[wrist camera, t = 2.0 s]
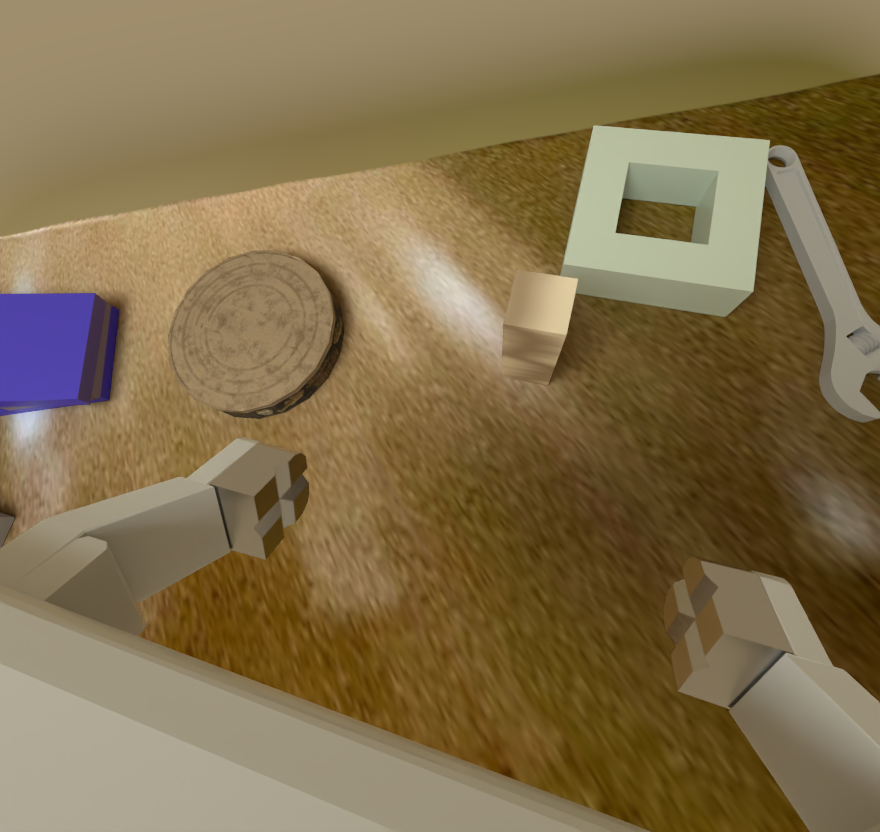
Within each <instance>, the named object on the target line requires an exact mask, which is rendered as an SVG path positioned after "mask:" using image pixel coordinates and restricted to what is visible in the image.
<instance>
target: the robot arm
mask: <svg viewBox="0 0 880 832" xmlns="http://www.w3.org/2000/svg"><path fill="white" fill-rule="evenodd" d="M306 469H307V463H306V456H304V455H303V454H302V453H299V452H296V451H292V450H289V449H285V448H282V447H279V446H275V445H272V444H268V443H265V442H259V441H256V440H253V439H249V438H246V437H242V438H237V439H236V440H234V441H233V442H232V443H231V444H229V445H228V446H227V447H225V448H224V449H223V450H222V451H220V452H219V453H218V454H217V455H215V456H214V457H213V458H212V459H210V460H209V461H208V462H206V463H205V464H204V465H203V466H201V467H200V468H199V469H198V470H196V471H195V472H194V473H193V474H191V475H190V476H189V477H187V478H183V477H178V478H174V479H171V480H168V481H165V482H161V483H158V484H155V485H152V486H149V487H145V488H142V489H139V490H136V491H132V492H129V493H126V494H123V495H120V496H116V497H113V498H110V499H107V500H103V501H100V502H97V503H94V504H91V505H87V506H84V507H81V508H78V509H74V510H71V511H68V512H65V513H62V514H58V515H55V516H52V517H49V518H45V519H44V520H42V521H41V522H39V523H38V524H36V525H35V526H33V527H31V528H30V529H28V530H27V531H25V532H24V533H22V534H21V535H19V536H18V537H16V538H15V539H13V540H12V541H10V542H9V543H7V544H6V545H4V546H3V547H1V548H0V832H651V831H648V830H646V829H643V828H640V827H638V826H635V825H633V824H630V823H627V822H625V821H622V820H619V819H617V818H614V817H612V816H609V815H606V814H604V813H601V812H598V811H596V810H593V809H591V808H588V807H585V806H583V805H580V804H577V803H575V802H572V801H570V800H567V799H564V798H562V797H559V796H556V795H554V794H551V793H549V792H546V791H543V790H541V789H538V788H535V787H533V786H530V785H527V784H525V783H522V782H520V781H517V780H514V779H512V778H509V777H506V776H504V775H501V774H499V773H496V772H493V771H491V770H488V769H485V768H483V767H480V766H478V765H475V764H472V763H470V762H467V761H464V760H462V759H459V758H457V757H454V756H451V755H449V754H446V753H443V752H441V751H438V750H436V749H433V748H430V747H428V746H425V745H422V744H420V743H417V742H415V741H412V740H409V739H407V738H404V737H401V736H399V735H396V734H394V733H391V732H388V731H386V730H383V729H380V728H378V727H375V726H372V725H370V724H367V723H365V722H362V721H359V720H357V719H354V718H351V717H349V716H346V715H344V714H341V713H338V712H336V711H333V710H330V709H328V708H325V707H323V706H320V705H317V704H315V703H312V702H309V701H307V700H304V699H302V698H299V697H296V696H294V695H291V694H288V693H286V692H283V691H280V690H278V689H275V688H273V687H270V686H267V685H265V684H262V683H259V682H257V681H254V680H252V679H249V678H246V677H244V676H241V675H238V674H236V673H233V672H230V671H228V670H225V669H223V668H220V667H217V666H215V665H212V664H209V663H207V662H204V661H202V660H199V659H196V658H194V657H191V656H188V655H186V654H183V653H180V652H178V651H175V650H173V649H170V648H167V647H165V646H162V645H159V644H157V643H154V642H152V641H149V640H146V639H144V638H141V637H138V635H139V634H140V633H141V632H142V631H143V630H144V629H145V620H144V618H143V616H142V614H141V612H140V610H139V608H138V606H137V604H138V603H139V602H141V601H143V600H145V599H147V598H148V597H150V596H152V595H154V594H156V593H157V592H159V591H161V590H163V589H165V588H166V587H168V586H170V585H172V584H174V583H175V582H177V581H179V580H181V579H183V578H184V577H186V576H188V575H190V574H192V573H193V572H195V571H197V570H199V569H201V568H202V567H204V566H206V565H208V564H210V563H211V562H213V561H215V560H217V559H219V558H220V557H222V556H224V555H226V554H228V553H229V552H230V550H234V551H237V552H241V553H244V554H248V555H251V556H255V557H258V558H262V559H265V560H266V559H267V558H268V557H269V555H270V554H271V553H272V551H273V550H274V549H275V548H276V546H277V545H278V544H279V543H280V541H281V540H282V539H283V538H284V527H286V526H289V525H291V524H293V523H295V522H296V521H297V520H298V519H299V517H300V516H301V515H302V513H303V511H304V509H305V507H306V504H307V502H308V497H309V483H308V482H307V480H306V479H305V477H304V476H303V475H302V473H303V472H304V471H305V470H306ZM682 572H683V575H684V579H683V580H680V581H678V582H675V583H673V584H672V586H671V587H670V589H669V591H668V593H667V595H666V599H665V604H664V623H665V629H666V633H667V634H668V635H669V637H670V638H671V639H672V640H673V642H674V643H675V644H676V645H677V646H676V647H675V649H674V650H673V652H672V653H671V660H672V665H673V670H674V675H675V680H676V685H677V690H678V691H679V692H682V693H684V694H687V695H690V696H693V697H696V698H699V699H702V700H705V701H707V702H710V703H713V704H716V705H719V706H722V707H725V708H728V709H730V710H729V713H730V714H731V716H732V717H733V719H734V720H735V722H736V723H737V725H738V726H739V727H740V729H741V730H742V732H743V733H744V735H745V736H746V738H747V739H748V741H749V742H750V744H751V745H752V747H753V748H754V750H755V751H756V753H757V754H758V756H759V757H760V759H761V760H762V761H763V763H764V764H765V766H766V767H767V769H768V770H769V772H770V773H771V775H772V776H773V778H774V779H775V781H776V782H777V784H778V785H779V787H780V788H781V790H782V791H783V793H784V794H785V795H786V797H787V798H788V800H789V801H790V803H791V804H792V806H793V807H794V809H795V810H796V812H797V813H798V815H799V816H800V818H801V819H802V821H803V822H804V824H805V825H806V827H807V828H808V829H809V831H810V832H880V702H878V701H877V700H876V699H875V698H874V697H873V696H872V695H871V694H870V693H869V692H868V691H867V690H865V689H864V688H863V687H862V686H861V685H860V684H859V683H858V682H857V681H856V680H855V679H853V678H852V677H851V676H850V675H849V674H848V673H847V672H846V671H845V670H843V669H840V668H837V667H833V665H832V663H831V661H830V659H829V657H828V655H827V654H826V652H825V650H824V648H823V646H822V644H821V642H820V640H819V638H818V636H817V634H816V632H815V631H814V629H813V627H812V625H811V623H810V621H809V619H808V617H807V615H806V613H805V611H804V609H803V608H802V606H801V604H800V602H799V600H798V598H797V596H796V594H795V592H794V590H793V588H792V586H791V585H790V584H789V583H788V582H787V581H786V580H785V579H784V578H780V577H776V576H772V575H768V574H764V573H760V572H756V571H749V570H747V569H743V568H739V567H735V566H731V565H727V564H723V563H719V562H715V561H711V560H708V559H704V558H700V557H696V556H692V557H691V558H689V559H688V560H687V561H686V563H685V564H684V566H683V567H682Z"/></svg>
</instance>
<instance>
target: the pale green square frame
mask: <svg viewBox="0 0 880 832" xmlns="http://www.w3.org/2000/svg"><path fill="white" fill-rule="evenodd" d="M769 143H770V140H761V139H749V138H737V137H725V136H714V135H702V134H690V133H678V132H666V131H654V130H642V129H630V128H619V127H607V126H593V131H592V135H591V139H590V143H589V147H588V151H587V155H586V159H585V163H584V168H583V173H582V177H581V182H580V186H579V191H578V195H577V200H576V204H575V209H574V213H573V218H572V223H571V227H570V232H569V236H568V241H567V245H566V250H565V254H564V259H563V263H562V268H561V273H560V276H563V277H569V278H576V279H578V283H577V288H576V292H575V293H576V294H582V295H589V296H595V297H601V298H608V299H614V300H620V301H627V302H633V303H639V304H646V305H652V306H658V307H665V308H671V309H677V310H684V311H690V312H696V313H703V314H709V315H715V316H722V317H726V316H727V315H728V314H729V313H730V312H731V311H733V310H734V309H735V308H736V307H737V306H738V305H739V304H740V303H741V302H742V301H744V300H745V299H746V298H747V297H748V296H749V295H750V294H751V293H752V292H753V290H754V280H755V271H756V262H757V253H758V244H759V235H760V226H761V216H762V207H763V198H764V189H765V180H766V171H767V162H768V152H769ZM622 198H625V199H634V200H643V201H651V202H660V203H669V204H678V205H686V206H695V207H696V211H695V218H694V225H693V231H692V238H691V243H690V242H682V241H674V240H666V239H659V238H651V237H643V236H635V235H628V234H620V233H615V232H616V227H617V222H618V216H619V211H620V206H621V201H622Z"/></svg>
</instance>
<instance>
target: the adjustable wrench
mask: <svg viewBox="0 0 880 832" xmlns="http://www.w3.org/2000/svg"><path fill="white" fill-rule="evenodd" d="M770 158H777V159H780V160H782V161H783V162H784V164H785V166H786V167H782V168H781V167H776V166H774V165H772V164H771V163H770V162H769V161H768V162H767V171H766V180H765V185H766V188H767V190H768V192H769V195H770V197H771V199H772V202H773V204H774V206H775V209H776V211H777V213H778V216H779V218H780V220H781V223H782V225H783V227H784V230H785V232H786V234H787V237H788V239H789V241H790V244H791V246H792V248H793V251H794V253H795V255H796V258H797V260H798V262H799V265H800V267H801V269H802V272H803V274H804V276H805V279H806V281H807V283H808V286H809V288H810V291H811V293H812V295H813V298H814V300H815V302H816V305H817V307H818V309H819V312H820V314H821V316H822V320H823V323H824V330H825V342H824V354H823V360H822V365H821V370H820V375H819V384H820V389H821V392H822V394H823V396H824V398H825V399H826V400H827V402H828V403H829V404H830V406H832V407H833V408H834V409H835V410H836V411H837V412H839V413H841V414H842V415H844V416H846V417H847V418H849V419H852V420H855V421H859V422H868V421H872V420H875V419H878V418H880V412H879V411H878V410H877V409H876V408H875V407H874V406H873V405H872V404H871V402H870V401H869V400H868V399H867V398H866V397H865V396H864V395H863V394H862V393H861V392H860V389H861V386H862V383H863V381H864V378H865V376H866V374H867V373H875V374H879V376H878V378H877V379H878V380H879V381H880V326H879V325H877V324H876V323H875V322H874V321H873V320H872V319H871V318H870V317H869V315H868V314H867V313H866V312H865V310H864V308H863V306H862V305H861V302H860V300H859V298H858V296H857V293H856V291H855V289H854V286H853V284H852V282H851V279H850V277H849V275H848V272H847V270H846V268H845V265H844V263H843V261H842V258H841V256H840V254H839V251H838V249H837V247H836V244H835V242H834V240H833V237H832V235H831V233H830V230H829V228H828V226H827V223H826V221H825V219H824V216H823V214H822V212H821V209H820V207H819V205H818V202H817V200H816V198H815V195H814V193H813V191H812V188H811V186H810V184H809V181H808V179H807V177H806V174H805V172H804V170H803V167H802V165H801V163H800V160H799V158H798V156H797V154H796V152H795V151H794V150H793V149H791V148H790V147H787V146H782V145H780V146H774V147H771V148H770V149H769V152H768V159H770ZM850 333H853V334H854V335H853V336H850V337H849V338H847V337H846V336H847V335H848V334H850Z"/></svg>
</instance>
